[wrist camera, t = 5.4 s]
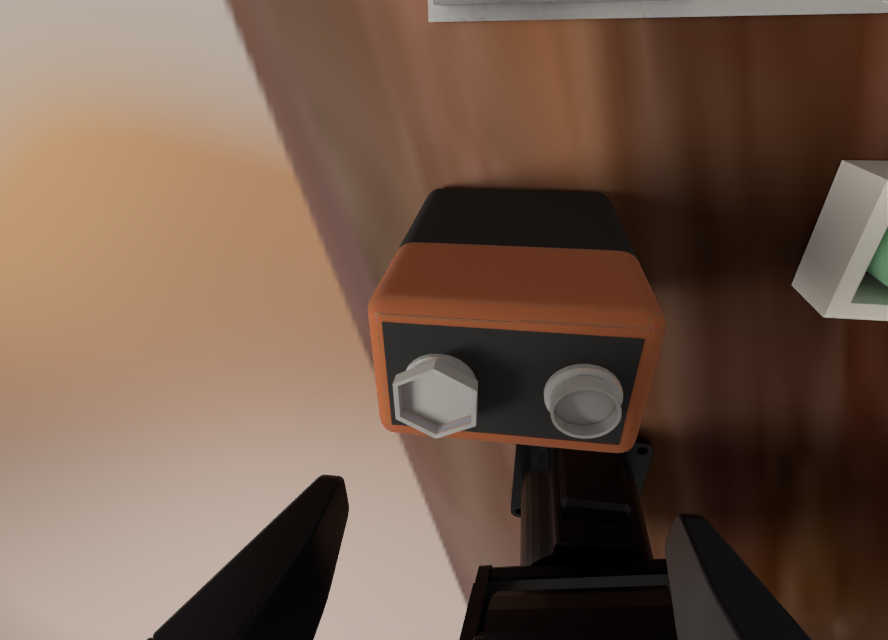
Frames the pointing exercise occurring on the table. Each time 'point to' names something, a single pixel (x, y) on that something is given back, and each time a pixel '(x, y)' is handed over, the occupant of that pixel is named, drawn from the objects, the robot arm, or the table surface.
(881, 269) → the button
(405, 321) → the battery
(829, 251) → the button housing
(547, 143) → the table surface
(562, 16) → the grey metal tray
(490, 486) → the table surface
